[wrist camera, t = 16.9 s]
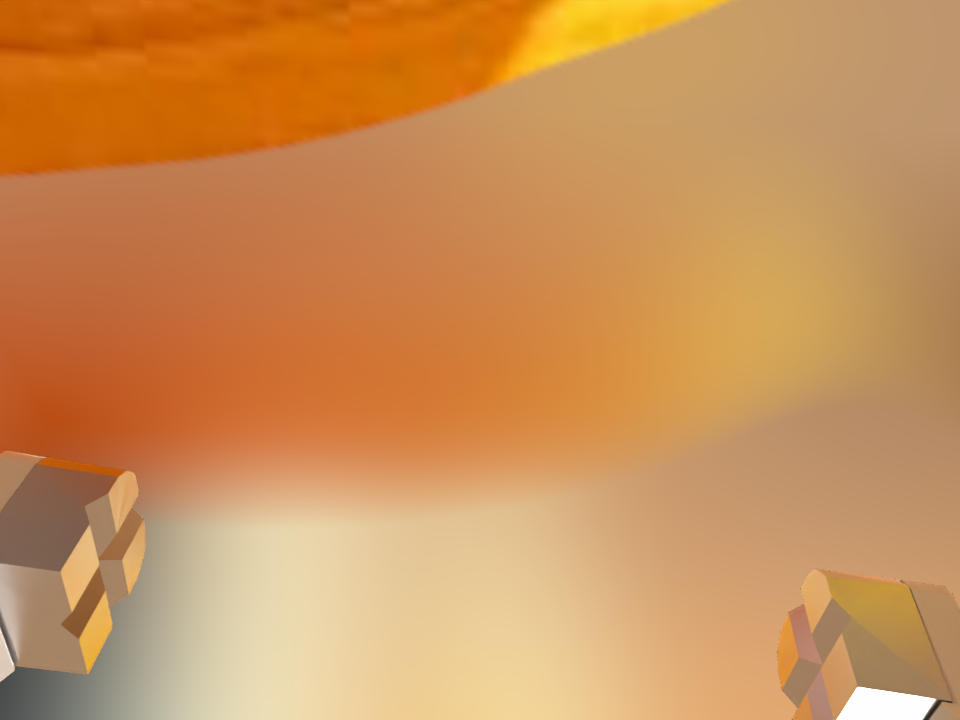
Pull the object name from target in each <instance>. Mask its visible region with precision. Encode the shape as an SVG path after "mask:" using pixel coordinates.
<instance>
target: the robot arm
mask: <svg viewBox="0 0 960 720" xmlns="http://www.w3.org/2000/svg"><path fill="white" fill-rule="evenodd" d="M138 495H139V490H138V486H137V481H136V477H135V474H134V473H132V472H129V471H127V470H121V469H115V468H109V467H103V466H97V465H91V464H85V463H80V462H74V461H67V460H62V459H56V458H50V457H47V458H46V457H40V456H34V455H28V454H22V453H16V452H10V451H5V452H3V453H1V454H0V681H2V680H3V679H4V678H5V677H7V676H8V675H9V674H11V673H12V672H13V671H14V670H15V668H14V666H21V667H29V668H38V669H46V670H55V671H64V672H72V673H80V674H88V673H89V672H90V670H91V668H92V666H93V664H94V662H95V660H96V658H97V656H98V654H99V652H100V650H101V648H102V646H103V644H104V642H105V641H106V639H107V637H108V635H109V633H110V631H111V629H112V627H113V624H112V619H111V615H110V610H109V608H110V607H112V606H113V605H115V604H116V603H118V602H119V601H121V600H122V599H124V598H125V597H127V596H128V595H129V594H130V592H131V590H132V588H133V585H134V584H135V582H136V579H137V578H138V575H139V572H140V568H141V564H142V561H143V557H144V554H145V542H146V531H145V525H144V519H143V518H142V517H141V516H140V515H139V514H138V513H137V512H136V511H135V510H134V509H133V508H132V506H133V504H134V502H135V500H136V498H137V496H138ZM801 592H802V597H803V601H804V604H803V605H801V606H799V607H798V608H796V609H794V610H792V611H790V612H788V615H787V617H786V619H785V621H784V624H783V626H782V628H781V630H780V637H779V643H778V650H777V657H778V659H777V660H778V673H779V678H780V683H781V688H782V690H783V692H784V693H785V694H786V695H787V696H788V697H789V699H790V700H791V701H792V702H793V703H794V704H795V706H796V707H797V708H798V709H797V711H796V713H795V715H794V716H793V718H792V720H960V609H959V607H958V605H957V603H956V600H955V598H954V596H953V594H952V593H951V592H950V591H949V590H948V589H947V588H946V587H945V586H940V585H933V584H926V583H918V582H911V581H903V580H901V581H898V580H896V579H890V578H884V577H876V576H868V575H861V574H852V573H846V572H838V571H831V570H823V569H815V570H813V571H812V572H811V573H810V574H808V575H807V577H806V579H805V581H804V583H803V585H802V587H801Z"/></svg>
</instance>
